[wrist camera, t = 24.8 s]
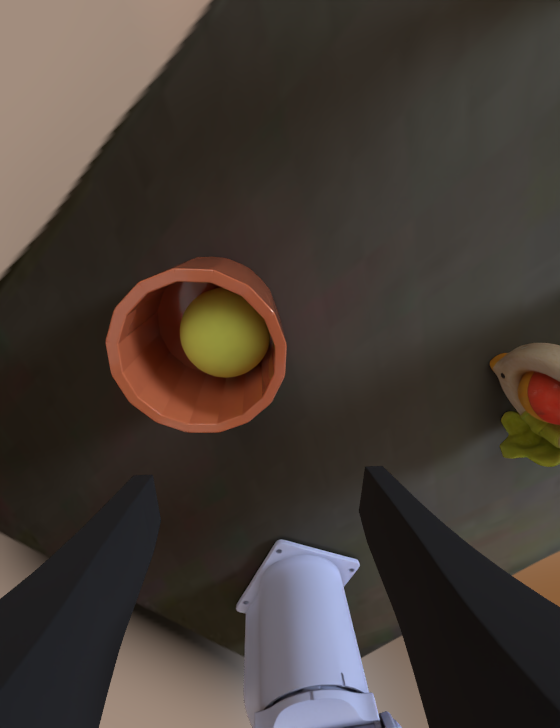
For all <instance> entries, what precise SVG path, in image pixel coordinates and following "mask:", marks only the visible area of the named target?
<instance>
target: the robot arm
mask: <svg viewBox="0 0 560 728" xmlns="http://www.w3.org/2000/svg"><path fill="white" fill-rule="evenodd" d="M359 513H360V517H361V521H362V525H363V529H364V532H365V536H366V539H367V543H368V545H369V548H370V551H371V553H372V556H373V558H374V561H375V564H376V566H377V569H378V571H379V574H380V576H381V579H382V581H383V584H384V587H385V589H386V592H387V594H388V597H389V599H390V602H391V604H392V607H393V610H394V612H395V615H396V618H397V620H398V623H399V626H400V629H401V632H402V635H403V638H404V642H405V645H406V648H407V652H408V655H409V658H410V662H411V665H412V668H413V672H414V675H415V679H416V682H417V686H418V689H419V693H420V696H421V700H422V703H423V707H424V710H425V714H426V718H427V721H428V725H429V728H560V607H559V606H557V605H555V604H554V603H552V602H551V601H549V600H547V599H546V598H544V597H543V596H541V595H540V594H538V593H537V592H535V591H534V590H532V589H531V588H529V587H528V586H526V585H524V584H523V583H522V582H520V581H519V580H517V579H516V578H514V577H513V576H511V575H510V574H508V573H507V572H505V571H504V570H503V569H501V568H500V567H498V566H497V565H496V564H494V563H493V562H492V561H490V560H489V559H488V558H486V557H485V556H484V555H482V554H481V553H480V552H478V551H477V550H475V549H474V548H473V547H472V546H470V545H469V544H468V543H467V542H465V541H464V540H463V539H462V538H460V537H459V536H458V535H457V534H456V533H454V532H453V531H452V530H451V529H450V528H448V527H447V526H446V525H445V524H444V523H443V522H441V521H440V520H439V519H438V518H437V517H436V516H435V515H433V514H432V513H431V512H430V511H429V510H428V509H427V508H426V507H425V506H424V505H422V504H421V503H420V502H419V501H418V500H417V499H416V498H415V497H414V496H413V495H412V494H411V493H410V492H409V491H408V490H407V489H406V488H405V487H404V486H402V485H401V484H400V483H399V482H398V481H397V480H396V479H395V478H394V477H393V476H392V475H391V474H390V473H389V472H388V471H387V470H386V469H385V468H384V467H383V466H371V467H365V472H364V479H363V486H362V493H361V500H360V507H359ZM160 522H161V518H160V512H159V507H158V501H157V496H156V490H155V485H154V479H153V475H135V476H133V477H132V478H131V479H130V480H129V481H128V482H127V483H126V484H125V485H124V486H123V487H122V488H121V489H120V490H119V491H118V492H117V493H116V494H115V495H114V496H113V497H112V498H111V499H110V500H109V501H108V502H107V503H106V504H105V505H104V506H103V507H102V509H101V510H100V511H99V512H98V513H97V514H96V515H94V516H93V517H92V518H91V519H90V520H89V521H88V522H87V523H86V524H85V525H84V526H83V527H82V528H81V529H80V530H79V531H78V532H77V533H76V534H75V535H74V536H73V537H72V538H71V539H70V540H69V541H68V542H66V543H65V544H64V545H63V546H62V547H61V548H60V549H59V550H58V551H57V552H56V553H55V554H53V555H52V556H51V557H50V558H49V559H48V560H47V561H46V562H45V563H43V564H42V565H41V566H40V567H39V568H38V569H37V570H35V571H34V572H33V573H32V574H31V575H29V576H28V577H27V578H26V579H25V580H23V581H22V582H21V583H20V584H18V585H17V586H16V587H15V588H13V589H12V590H11V591H10V592H8V593H7V594H6V595H5V596H3V597H2V598H1V599H0V728H99V724H100V720H101V716H102V712H103V709H104V705H105V701H106V697H107V693H108V689H109V686H110V682H111V678H112V675H113V671H114V667H115V663H116V660H117V656H118V653H119V649H120V646H121V643H122V640H123V637H124V634H125V630H126V628H127V625H128V622H129V620H130V617H131V614H132V611H133V609H134V606H135V603H136V600H137V598H138V595H139V592H140V589H141V586H142V584H143V581H144V578H145V575H146V572H147V570H148V567H149V564H150V561H151V558H152V555H153V552H154V548H155V544H156V540H157V536H158V531H159V527H160ZM359 566H360V564H359V561H358V560H357V559H354V558H350V557H346V556H342V555H339V554H335V553H331V552H328V551H324V550H320V549H316V548H313V547H309V546H305V545H301V544H298V543H294V542H290V541H287V540H282V539H280V540H277V541H276V542H275V544H274V545H273V547H272V549H271V550H270V552H269V553H268V555H267V557H266V558H265V560H264V561H263V563H262V565H261V566H260V568H259V569H258V571H257V573H256V574H255V576H254V577H253V579H252V581H251V582H250V584H249V585H248V587H247V589H246V590H245V592H244V593H243V595H242V597H241V598H240V600H239V601H238V603H237V605H236V610H237V611H238V612H241V613H246V625H245V660H244V703H245V708H246V712H247V715H248V718H249V721H250V723H251V726H252V728H402V727H401V726H400V724H399V723H397V721H396V720H394V719H393V718H392V716H391V714H390V713H389V712H387V711H385V712H382V713H379V714H378V710H377V707H376V702H375V698H374V694H373V693H372V692H369V690H368V686H367V682H366V678H365V674H364V670H363V666H362V661H361V657H360V653H359V649H358V645H357V641H356V637H355V633H354V628H353V624H352V620H351V616H350V612H349V608H348V604H347V600H346V596H345V591H344V586H345V584H346V583H347V582H348V581H349V579H350V578H351V577H352V576H353V574H354V573H355V572H356V571H357V569H358V568H359Z"/></svg>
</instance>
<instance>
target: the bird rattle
mask: <svg viewBox="0 0 560 728" xmlns="http://www.w3.org/2000/svg"><path fill="white" fill-rule="evenodd" d="M490 367H491V369H492V370H493V371H494V373H495V374H496V375H497V376H498V378H499V381H500V384H501V386H502V389H503V391H504V393H505V394H506V396H507V398H508V399H509V401H510V402H511V404H512V405H513V406H514V408H515V409H516V410H517V411H518V412H514V411H508V412H506V413H504V415H503V417H502V419H501V422H502V424H503V426H504V428H505V429H506V431H507V432H508V434H509V436H508V437H507V438H506V439H505V440H504V441H503V442H502V443H501V444H500V449H501V452H502V454H503V457H505V458H520V457H521V458H523V457H527V458H529V459H530V460H532V461H534V462H535V463H537V464H539V465H541V466H546V467H553V466H556V465H558V464H560V346H559V345H555V344H550V343H530V344H525V345H522V346H519V347H517V348H515V349H514V350H512V351H510V352H509V353H502V354H499V355H497V356H495V357H494V358H493V359H492V360H491V361H490Z"/></svg>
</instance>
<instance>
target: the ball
mask: <svg viewBox="0 0 560 728" xmlns="http://www.w3.org/2000/svg"><path fill="white" fill-rule="evenodd" d="M270 336H271V335H270V333H269V330H268V328H267V325H266V323H265V320H264V319H263V318H262V316H261V315H260V314H259V313H258V312H257V311H256V310H255V309H254V308H253V307H252V306H251V305H250V304H249V303H248V302H247V301H246V300H245V299H244V298H243V297H242V296H240V295H238V294H235V293H233V292H231V291H229V290H226V289H224V288H216V289H212V290H209V291H206V292H204V293H202V294H200V295H199V296H198V297H196V298H195V299H194V300H193V301H192V302H191V303H190V304H189V306H188V307H187V309H186V310H185V312H184V314H183V317H182V320H181V324H180V339H181V344H182V347H183V350H184V352H185V354H186V355H187V357H188V358H189V360H190V361H191V362H192V363H193V364H194V365H195V366H196V367H197V368H198V369H200V370H201V371H203V372H205V373H207V374H209V375H212V376H216V377H224V378H229V377H236V376H239V375H242V374H245V373H247V372H249V371H250V370H252V369H253V368H254V367H256V366H257V365H258V364H259V363H260V362H261V360H262V359H263V357H264V356H265V354H266V352H267V350H268V347H269V343H270Z"/></svg>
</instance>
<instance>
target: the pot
mask: <svg viewBox="0 0 560 728" xmlns="http://www.w3.org/2000/svg"><path fill="white" fill-rule="evenodd" d="M216 288H224V289H226V290H229V291H231V292H233V293H235V294H238V295H240V296H242V297H243V298H244V299H245V300H246V301H247V302H248V303H249V304H250V305H251V306H252V307H253V308H254V309H255V310H256V311H257V312H258V313H259V314H260V315H261V316H262V318H263V319H264V320H265V323H266V325H267V328H268V330H269V333H270V335H271V336H270V343H269V347H268V350H267V352H266V354H265V356H264V357H263V359H262V360H261V362H260V363H259V364H258V365H257V366H256V367H254V368H253V369H252V370H250V371H249V372H247V373H245V374H242V375H239V376H236V377H229V378H224V377H216V376H212V375H209V374H207V373H205V372H203V371H201V370H200V369H198V368H197V367H196V366H195V365H194V364H193V363H192V362H191V361H190V360H189V358H188V357H187V355H186V354H185V352H184V350H183V347H182V344H181V339H180V324H181V320H182V317H183V314H184V312H185V310H186V309H187V307H188V306H189V304H190V303H191V302H192V301H193V300H194V299H195V298H196V297H198V296H199V295H200V294H202V293H204V292H206V291H209V290H212V289H216ZM106 348H107V354H108V359H109V365H110V370H111V374H112V376H113V378H114V380H115V381H116V383H117V384H118V386H119V387H120V389H121V390H122V392H123V393H124V395H125V396H126V398H127V399H128V401H129V402H130V403H131V404H132V405H133V406H135V407H136V408H137V409H139V410H140V411H142V412H143V413H144V414H146V415H147V416H148V417H150V418H151V419H152V420H154V421H155V422H157V423H159V424H162V425H165V426H168V427H172V428H175V429H178V430H181V431H184V432H188V433H218V432H222V431H225V430H228V429H231V428H234V427H237V426H239V425H242V424H245V423H248V422H249V421H250V420H252V419H253V418H254V417H255V416H256V415H258V414H259V413H260V412H261V411H262V410H263V409H265V408H266V407H267V406H268V405H269V404H271V402H272V401H273V399H274V397H275V395H276V393H277V391H278V389H279V387H280V385H281V383H282V381H283V379H284V377H285V368H286V349H287V345H286V340H285V336H284V332H283V329H282V325H281V321H280V317H279V313H278V310H277V308H276V305H275V302H274V299H273V297H272V294H271V292H270V290H269V288H268V287H267V286H266V285H265V284H264V282H263V281H262V280H261V279H260V278H259V277H258V276H257V275H256V274H255V273H254V272H253V271H252V270H251V269H249V268H247V267H245V266H243V265H242V264H240V263H237V262H235V261H232V260H229V259H227V258H219V257H197V258H194V259H192V260H189V261H187V262H184V263H182V264H179V265H177V266H174V267H172V268H170V269H167V270H165V271H163V272H160V273H158V274H156V275H154V276H151V277H149V278H147V279H144V280H142V281H140V282H139V283H137V284H136V285H135V286H134V287H133V289H132V290H131V291H130V292H129V293H128V294H127V295H126V296H125V297H124V298H123V299H122V301H121V302H120V303H119V304H118V305H117V306H116V307H115V309H114V312H113V315H112V319H111V322H110V326H109V330H108V333H107V337H106Z"/></svg>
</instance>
